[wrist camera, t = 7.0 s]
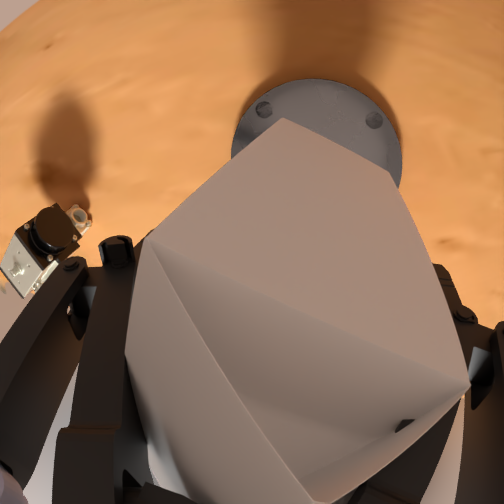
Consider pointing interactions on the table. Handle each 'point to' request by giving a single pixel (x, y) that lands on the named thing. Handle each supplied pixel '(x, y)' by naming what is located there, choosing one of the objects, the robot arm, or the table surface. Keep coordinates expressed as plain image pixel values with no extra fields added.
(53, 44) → the table surface
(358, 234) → the milk carton
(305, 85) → the duct flange
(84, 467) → the robot arm
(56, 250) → the pneumatic valve
